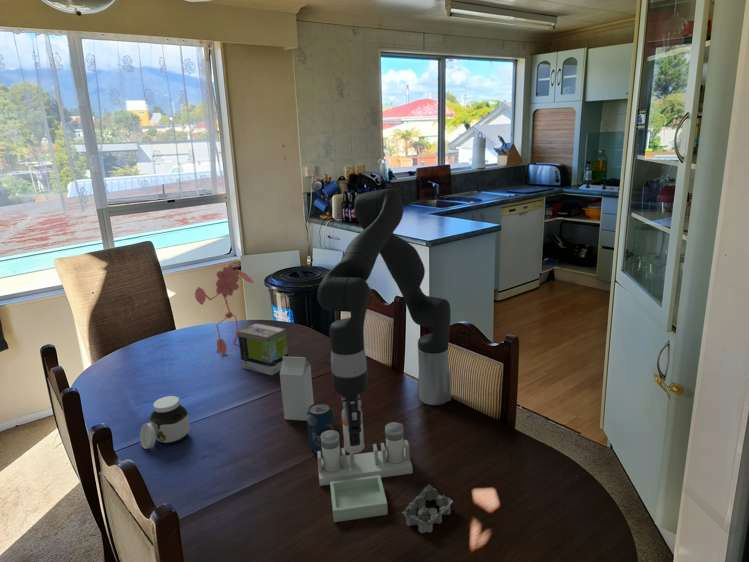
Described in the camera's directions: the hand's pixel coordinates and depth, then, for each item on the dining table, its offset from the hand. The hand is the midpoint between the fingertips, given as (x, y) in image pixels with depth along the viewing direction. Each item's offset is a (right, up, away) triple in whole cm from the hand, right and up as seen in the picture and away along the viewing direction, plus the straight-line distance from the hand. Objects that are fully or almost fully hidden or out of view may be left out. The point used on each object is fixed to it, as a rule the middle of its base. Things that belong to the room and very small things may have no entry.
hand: (353, 438), depth 117 cm
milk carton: (-18, -6, +44) cm, 48 cm away
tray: (+1, -16, +5) cm, 17 cm away
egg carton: (+17, -18, 0) cm, 24 cm away
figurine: (-50, +7, +93) cm, 106 cm away
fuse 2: (+10, -10, +17) cm, 22 cm away
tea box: (-35, +3, +78) cm, 86 cm away
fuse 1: (-6, -12, +15) cm, 20 cm away
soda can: (-10, -11, +27) cm, 30 cm away
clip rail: (+2, -13, +17) cm, 21 cm away
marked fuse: (0, -2, +1) cm, 2 cm away
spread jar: (-55, -11, +34) cm, 65 cm away
